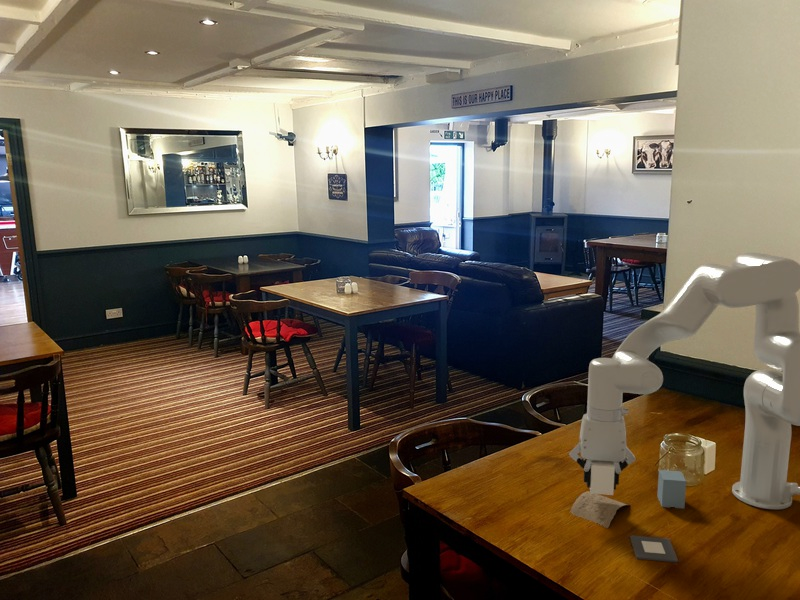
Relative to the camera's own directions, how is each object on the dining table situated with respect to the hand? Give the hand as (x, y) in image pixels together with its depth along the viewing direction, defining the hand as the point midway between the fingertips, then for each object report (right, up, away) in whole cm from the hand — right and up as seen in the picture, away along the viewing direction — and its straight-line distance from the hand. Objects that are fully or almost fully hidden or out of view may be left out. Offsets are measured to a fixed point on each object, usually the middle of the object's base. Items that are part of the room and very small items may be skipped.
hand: (600, 485), depth 145 cm
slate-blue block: (+18, -5, +4) cm, 19 cm away
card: (+6, -9, -15) cm, 19 cm away
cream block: (0, -1, 0) cm, 1 cm away
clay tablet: (0, -7, +1) cm, 7 cm away
